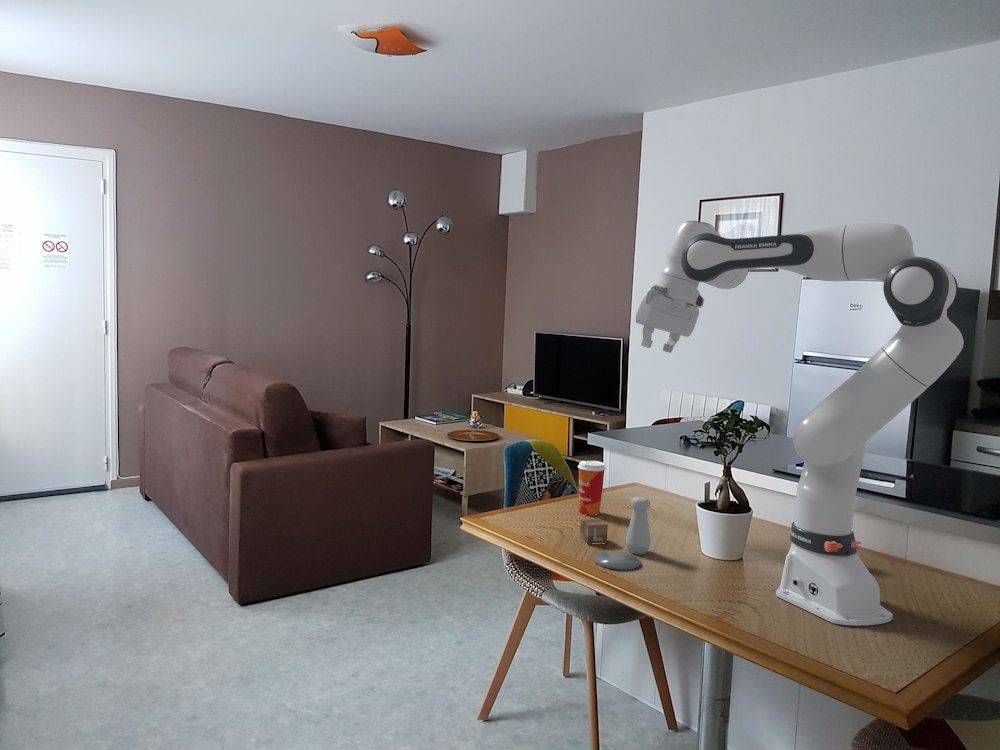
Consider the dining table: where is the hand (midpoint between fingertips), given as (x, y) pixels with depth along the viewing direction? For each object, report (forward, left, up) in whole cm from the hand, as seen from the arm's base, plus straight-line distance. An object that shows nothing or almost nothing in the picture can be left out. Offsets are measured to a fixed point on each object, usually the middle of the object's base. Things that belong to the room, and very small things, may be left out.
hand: (656, 349), depth 176 cm
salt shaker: (-1, +2, -48) cm, 48 cm away
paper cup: (+31, +1, -48) cm, 57 cm away
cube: (+8, +9, -48) cm, 49 cm away
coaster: (-7, +10, -48) cm, 49 cm away
